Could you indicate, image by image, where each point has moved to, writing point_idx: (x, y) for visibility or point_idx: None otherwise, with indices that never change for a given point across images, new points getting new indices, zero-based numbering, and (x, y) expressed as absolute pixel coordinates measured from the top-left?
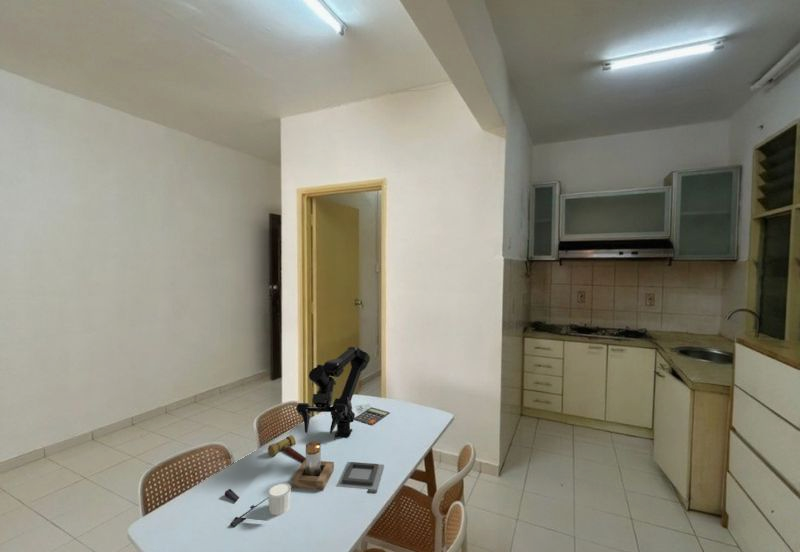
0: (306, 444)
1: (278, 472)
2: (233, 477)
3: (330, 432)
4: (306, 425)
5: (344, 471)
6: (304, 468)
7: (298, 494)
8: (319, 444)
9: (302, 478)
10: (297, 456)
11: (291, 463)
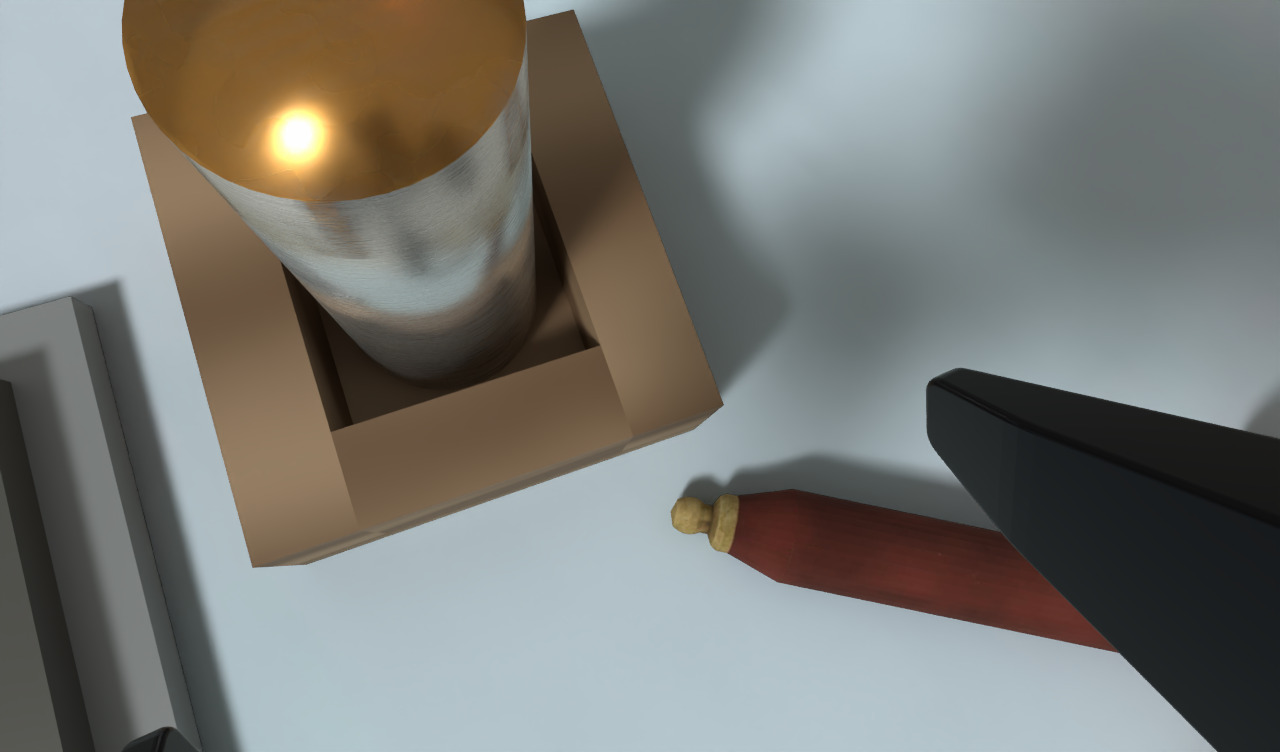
0: None
1: (935, 267)
2: (1242, 28)
3: (146, 738)
4: (1099, 442)
5: (121, 610)
6: (575, 241)
7: None
8: (169, 96)
9: None
10: (945, 535)
11: (946, 468)
